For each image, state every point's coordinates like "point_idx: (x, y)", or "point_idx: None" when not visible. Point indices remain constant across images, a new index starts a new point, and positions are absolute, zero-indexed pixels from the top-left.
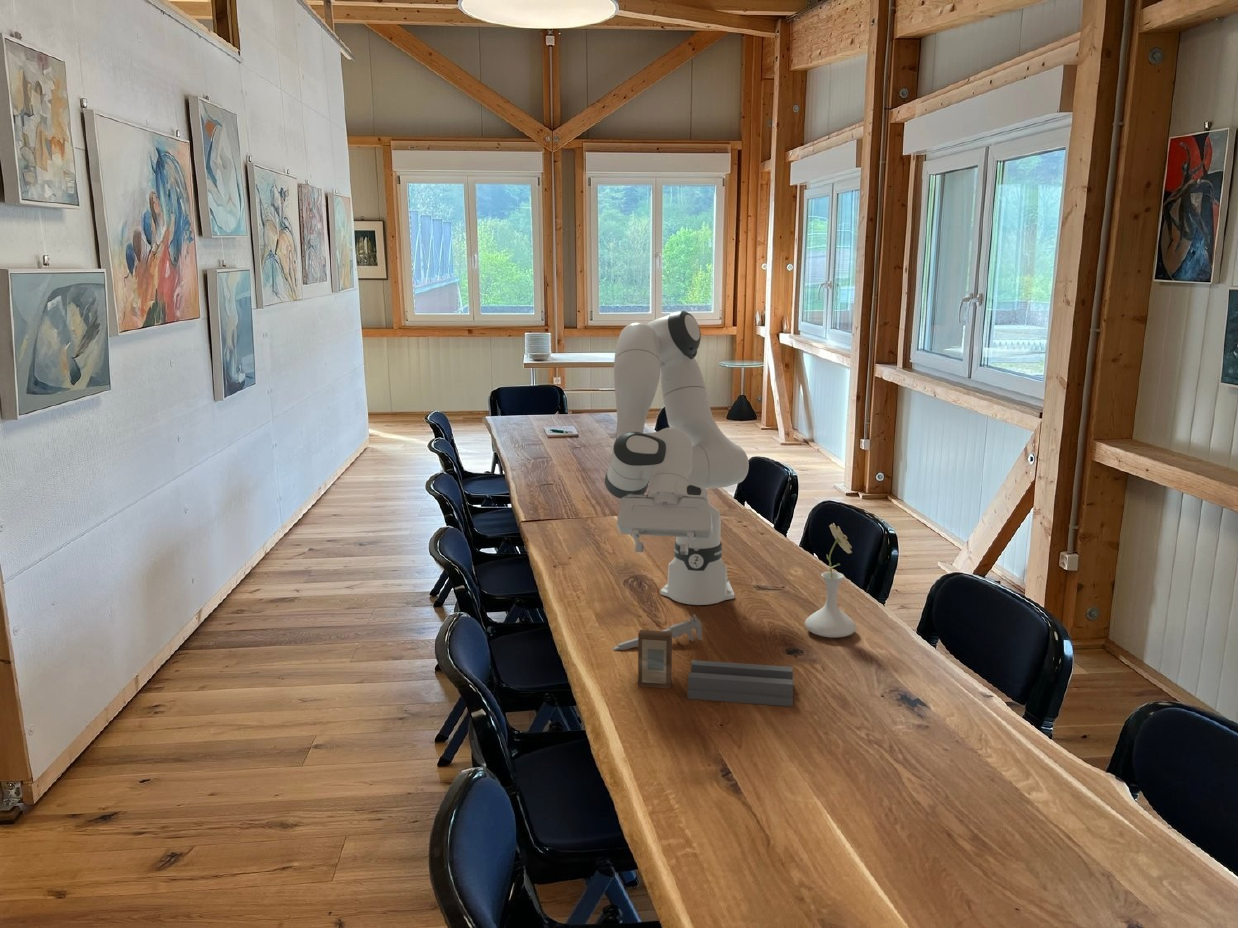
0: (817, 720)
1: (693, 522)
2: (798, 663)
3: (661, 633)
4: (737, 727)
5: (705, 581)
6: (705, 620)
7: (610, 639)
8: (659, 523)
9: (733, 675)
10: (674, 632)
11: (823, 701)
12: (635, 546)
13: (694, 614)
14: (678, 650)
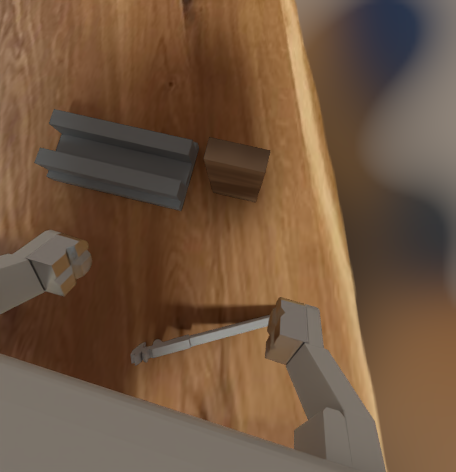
0: (59, 87)
1: None
2: (22, 241)
3: (224, 151)
4: (153, 77)
5: None
6: None
7: None
8: (108, 464)
9: (127, 140)
10: (184, 337)
11: (33, 130)
12: (318, 315)
13: (135, 363)
14: (186, 302)
